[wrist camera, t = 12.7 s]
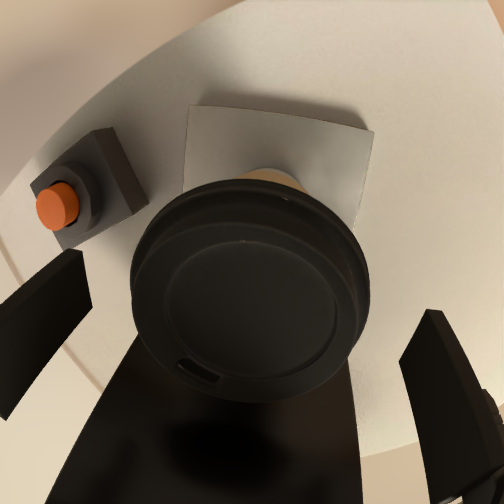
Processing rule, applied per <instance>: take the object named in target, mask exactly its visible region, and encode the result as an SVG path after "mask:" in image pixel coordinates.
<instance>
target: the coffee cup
mask: <svg viewBox="0 0 504 504" xmlns="http://www.w3.org/2000/svg"><path fill="white" fill-rule="evenodd" d="M130 290H131V296H132V313H133V318H134V322H135V326H136V328H137V331H138V333H139V335H140V337H141V339H142V341H143V343H144V345H145V346H146V348H147V349H148V351H149V352H150V353H151V355H152V356H153V357H154V358H155V359H156V360H157V362H158V363H159V364H160V365H161V366H162V367H164V368H165V369H166V370H167V371H168V372H169V373H171V374H172V375H173V376H175V377H176V378H177V379H179V380H180V381H182V382H184V383H185V384H187V385H189V386H191V387H193V388H195V389H197V390H199V391H201V392H204V393H206V394H209V395H212V396H215V397H218V398H222V399H227V400H232V401H238V402H249V403H263V402H274V401H280V400H285V399H289V398H293V397H296V396H299V395H302V394H304V393H307V392H309V391H311V390H313V389H315V388H316V387H318V386H320V385H321V384H323V383H324V382H326V381H327V380H328V379H329V378H331V377H332V376H333V375H334V374H335V373H336V372H337V371H338V370H339V369H340V367H341V366H342V365H343V364H344V362H345V361H346V359H347V358H348V356H349V354H350V352H351V350H352V348H353V347H354V346H355V344H356V343H357V341H358V339H359V338H360V336H361V334H362V332H363V330H364V327H365V324H366V321H367V318H368V314H369V307H370V280H369V272H368V267H367V263H366V260H365V257H364V254H363V252H362V249H361V247H360V245H359V243H358V241H357V240H356V238H355V236H354V235H353V233H352V232H351V231H350V229H349V228H348V226H347V225H346V224H345V223H344V222H343V221H342V220H341V219H340V217H339V216H337V215H336V214H335V213H334V212H333V211H332V210H331V209H330V208H328V207H327V206H325V205H324V204H323V203H321V202H320V201H318V200H317V199H315V198H313V197H312V196H310V195H309V193H308V192H307V191H306V190H305V189H304V188H303V187H302V186H301V185H300V184H299V183H298V181H297V180H295V179H294V178H293V177H292V176H291V175H289V174H287V173H285V172H283V171H281V170H278V169H274V168H260V169H257V170H254V171H251V172H248V173H244V174H241V175H239V176H237V177H235V178H233V179H227V180H220V181H215V182H211V183H207V184H204V185H201V186H198V187H195V188H193V189H191V190H189V191H187V192H185V193H183V194H181V195H180V196H178V197H176V198H175V199H174V200H172V201H171V202H169V203H168V204H167V205H166V206H165V207H164V208H163V209H161V210H160V211H159V212H158V214H157V215H156V216H155V217H154V218H153V219H152V221H151V222H150V224H149V225H148V227H147V228H146V230H145V232H144V234H143V236H142V237H141V239H140V241H139V243H138V245H137V248H136V250H135V253H134V256H133V260H132V264H131V270H130Z"/></svg>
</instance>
